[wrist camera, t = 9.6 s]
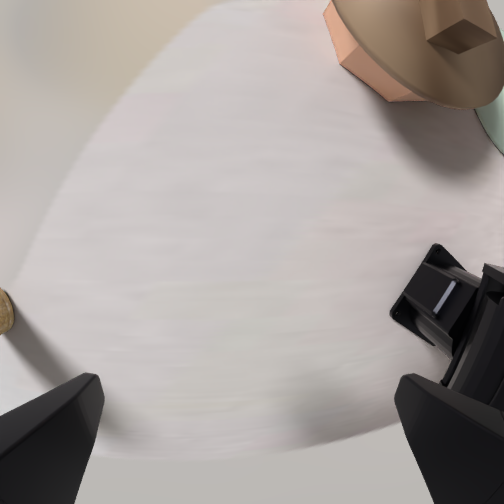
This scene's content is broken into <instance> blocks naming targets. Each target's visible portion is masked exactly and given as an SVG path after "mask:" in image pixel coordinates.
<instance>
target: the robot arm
mask: <svg viewBox="0 0 504 504" xmlns="http://www.w3.org/2000/svg"><path fill="white" fill-rule="evenodd" d="M437 248H438V251H437V253H436V249H437ZM482 272H483V276H482V279H481V278H479V277H477V276H475V275H473V274H471V273H469V272H467V271H466V270H465V269H464V268H463V267H462V266H461V265H460V263H459V262H458V261H457V260H456V259H455V258H454V257H453V256H452V255H451V254H450V253H449V252H448V251H447V250H446V249H445V248H444V247H443V246H442V245H440V244H437V243H435V244H433V245H432V247H431V248H430V250H429V252H428V253H427V255H426V257H425V258H424V260H423V262H422V263H421V265H420V266H419V268H418V269H417V271H416V273H415V274H414V276H413V277H412V279H411V280H410V282H409V283H408V285H407V286H406V288H405V289H404V291H403V292H402V294H401V295H400V297H399V298H398V300H397V301H396V303H395V304H394V305H393V307H392V308H391V310H390V316H391V317H392V318H393V319H394V320H395V321H397V322H398V323H400V324H401V325H403V326H404V327H406V328H407V329H409V330H410V331H412V332H413V333H415V334H416V335H418V336H419V337H421V338H422V339H424V340H425V341H427V342H428V343H430V344H431V345H433V346H437V347H438V348H439V349H440V350H441V351H442V352H444V353H445V354H446V355H447V356H448V357H449V358H450V359H451V360H452V361H451V363H450V365H449V367H448V369H447V371H446V374H445V376H444V378H443V380H441V381H440V383H439V384H437V383H435V382H433V381H430V380H428V379H426V378H424V377H421V376H419V375H417V374H414V373H412V374H406V375H403V376H402V377H401V379H400V382H399V385H398V388H397V390H396V393H395V397H394V401H395V405H396V408H397V411H398V414H399V417H400V420H401V423H402V426H403V429H404V432H405V435H406V438H407V440H408V443H409V445H410V448H411V450H412V452H413V454H414V457H415V458H416V461H417V464H418V466H419V468H420V470H421V473H422V475H423V478H424V480H425V482H426V485H427V487H428V490H429V492H430V495H431V497H432V499H433V502H434V504H504V268H503V267H499V266H495V265H491V264H487V263H484V267H483V270H482ZM396 311H398V313H397V314H396V315H395V312H396ZM103 406H104V393H103V390H102V386H101V382H100V378H99V376H98V375H97V374H92V373H83V374H81V375H79V376H77V377H75V378H74V379H72V380H70V381H68V382H66V383H64V384H62V385H60V386H58V387H56V388H54V389H52V390H51V391H49V392H47V393H45V394H43V395H41V396H39V397H37V398H35V399H33V400H31V401H29V402H27V403H25V404H23V405H21V406H19V407H17V408H15V409H13V410H11V411H9V412H7V413H5V414H3V415H1V416H0V504H74V503H75V500H76V496H77V493H78V490H79V487H80V484H81V481H82V477H83V475H84V472H85V469H86V466H87V463H88V460H89V457H90V455H91V452H92V449H93V446H94V443H95V439H96V435H97V431H98V426H99V422H100V418H101V414H102V410H103Z"/></svg>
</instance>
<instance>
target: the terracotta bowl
mask: <svg viewBox="0 0 504 504" xmlns="http://www.w3.org/2000/svg"><path fill="white" fill-rule="evenodd" d="M323 15H324V18H325V21H326V24H327V26H328V29H329V32H330V35H331V38H332V41H333V44H334V47H335V50H336V54H337V57H338V60H339V64H341V65H342V66H343V67H345V68H346V69H348V70H349V71H350V72H352V73H353V74H354V75H356V76H357V77H358V78H360V79H361V80H362V81H364V82H365V83H366V84H367V85H369V86H370V87H371V88H373V89H374V90H375V91H376V92H377V93H379V94H380V95H381V96H382V97H384V98H385V99H386V100H387V101H388V102H396V101H428V100H426V99H424V98H422V97H420V96H418V95H416V94H415V93H413V92H412V91H410V90H409V89H407V88H406V87H404V86H403V85H401V84H400V83H399V82H398V81H396V80H395V79H394V78H392V77H391V76H390V75H389V74H388V73H387V72H385V71H384V70H383V69H382V68H381V67H380V66H379V65H378V64H377V63H376V62H375V61H374V60H373V59H372V58H371V57H370V56H369V55H368V54H367V53H366V52H365V51H364V50H363V48H362V47H361V46H360V45H359V44H358V43H357V41H356V40H355V39H354V38H353V36H352V35H351V33H350V32H349V31H348V29H347V28H346V26H345V25H344V23H343V21H342V20H341V18H340V17H339V15H338V13H337V11H336V9H335V7H334V5H333V2H332V0H331V1H330V3H329V4H328V6H327V8H326V9H325V11H324V13H323Z"/></svg>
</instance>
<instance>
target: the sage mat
mask: <svg viewBox="0 0 504 504" xmlns="http://www.w3.org/2000/svg"><path fill="white" fill-rule="evenodd" d="M499 29H500V28H499ZM500 31H501V34H502V37H503V41H504V31H503V30H501V29H500ZM475 111H476V113H477V115H478V117H479V119H480V121H481V123H482V125H483V127H484V129H485V131H486V132H487V134H488V136H489V137H490V139H491V140H492V142H493V143H494V144H495V145H496V147H497V148H498V149H499V150H500V151H501V152H502V153H503V154H504V87H503V89H502V91H501V93H500V94H499V96H498V97H497V98H496V99H495V100H494V101H493V102H491V103H489V104H488V105H486V106H482V107H479V108H475Z"/></svg>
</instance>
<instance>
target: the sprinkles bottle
mask: <svg viewBox="0 0 504 504" xmlns="http://www.w3.org/2000/svg"><path fill="white" fill-rule="evenodd" d="M13 321H14V314H13V310H12V305H11V303H10V301H9V298H8V297H7V295H6V294H5V292H4V291H3V290H2V289H1V288H0V335H1V334H2V333H5V332H7V331H8V330H9V329H10V328H11V327H12V325H13Z"/></svg>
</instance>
